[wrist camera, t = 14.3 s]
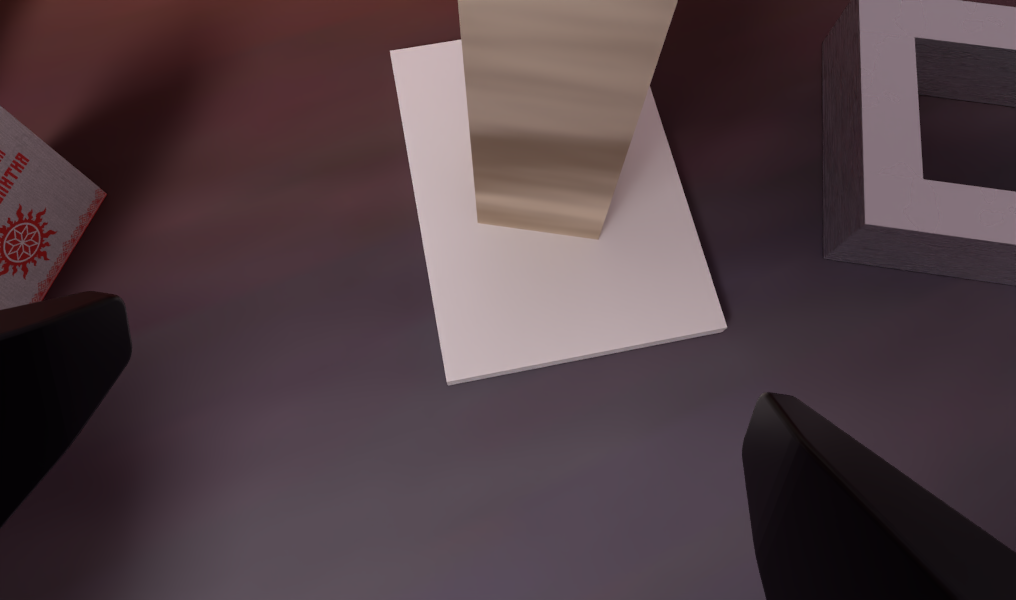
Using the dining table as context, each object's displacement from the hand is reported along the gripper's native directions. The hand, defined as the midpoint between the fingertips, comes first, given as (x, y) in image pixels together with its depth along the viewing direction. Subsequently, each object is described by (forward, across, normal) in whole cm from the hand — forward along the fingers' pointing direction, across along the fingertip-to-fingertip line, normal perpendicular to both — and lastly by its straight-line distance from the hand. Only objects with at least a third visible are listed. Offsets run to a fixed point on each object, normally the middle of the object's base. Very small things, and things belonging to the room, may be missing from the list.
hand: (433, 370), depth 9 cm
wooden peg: (+17, -1, +2) cm, 17 cm away
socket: (+20, -17, 0) cm, 26 cm away
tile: (+17, -1, +2) cm, 17 cm away
